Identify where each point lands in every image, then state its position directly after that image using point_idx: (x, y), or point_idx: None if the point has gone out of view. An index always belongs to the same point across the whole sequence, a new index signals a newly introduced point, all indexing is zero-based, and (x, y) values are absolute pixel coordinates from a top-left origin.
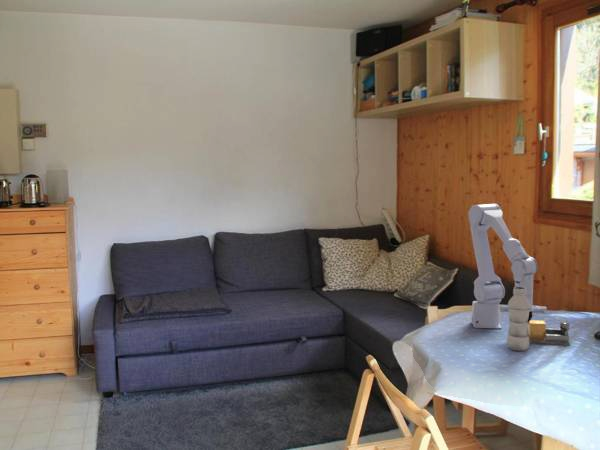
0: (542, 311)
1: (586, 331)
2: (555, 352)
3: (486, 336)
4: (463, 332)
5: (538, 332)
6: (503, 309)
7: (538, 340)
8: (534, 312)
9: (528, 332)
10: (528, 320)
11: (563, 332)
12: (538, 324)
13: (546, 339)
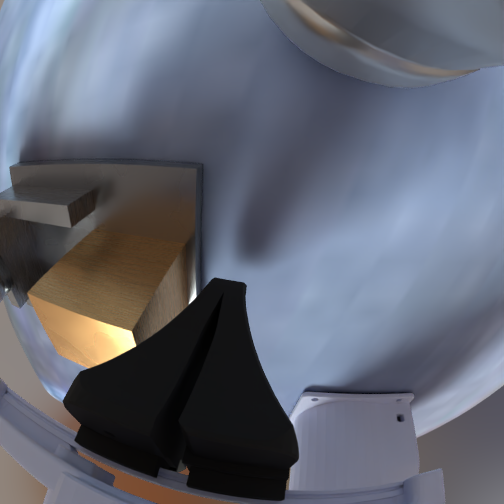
0: (4, 401)
1: (16, 314)
2: (94, 7)
3: (442, 305)
4: (486, 344)
5: (108, 257)
6: (423, 501)
7: (134, 183)
8: (60, 426)
9: (180, 305)
10: (136, 358)
11: (8, 248)
12: (71, 303)
13: (85, 192)
